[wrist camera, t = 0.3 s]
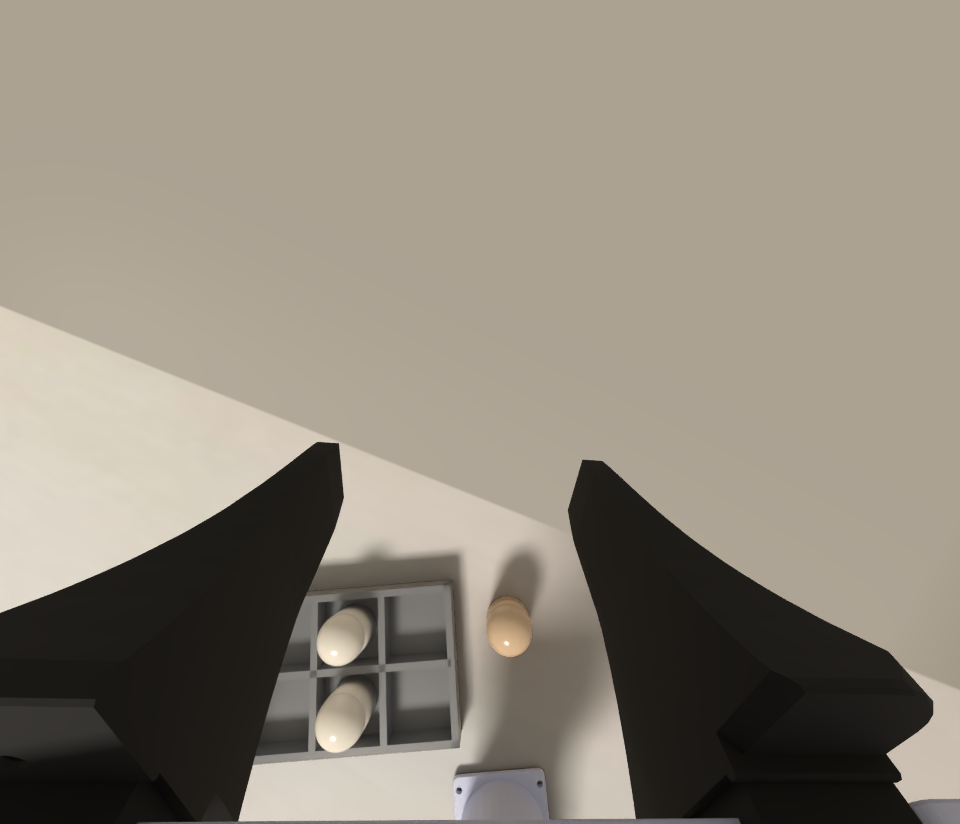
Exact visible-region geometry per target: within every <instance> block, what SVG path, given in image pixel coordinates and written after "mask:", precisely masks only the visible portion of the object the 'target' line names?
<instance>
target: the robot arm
mask: <svg viewBox="0 0 960 824" xmlns="http://www.w3.org/2000/svg"><path fill="white" fill-rule="evenodd" d="M343 499H344V494H343V483H342V472H341V462H340V451H339V443H325V442H317V443H315V444H314V445H312V446H311V447H310V448H308V449H307V450H306V451H304V452H303V453H302V454H301V455H299V456H298V457H297V458H296V459H294V460H293V461H292V462H290V463H289V464H288V465H286V466H285V467H284V468H282V469H281V470H280V471H278V472H277V473H276V474H274V475H273V476H272V477H270V478H269V479H268V480H266V481H265V482H264V483H262V484H261V485H259V486H258V487H256V488H255V489H254V490H252V491H251V492H249V493H248V494H246V495H245V496H243V497H242V498H240V499H239V500H237V501H236V502H234V503H233V504H231V505H230V506H228V507H227V508H225V509H224V510H222V511H221V512H219V513H217V514H216V515H214V516H212V517H211V518H209V519H207V520H205V521H204V522H202V523H200V524H198V525H197V526H195V527H193V528H192V529H190V530H188V531H186V532H184V533H183V534H181V535H179V536H177V537H175V538H173V539H171V540H169V541H167V542H165V543H163V544H161V545H159V546H157V547H155V548H153V549H151V550H149V551H147V552H145V553H143V554H141V555H139V556H137V557H135V558H133V559H131V560H129V561H127V562H125V563H122V564H120V565H118V566H116V567H113V568H111V569H109V570H107V571H105V572H102V573H100V574H98V575H95V576H93V577H91V578H88V579H86V580H84V581H81V582H79V583H76V584H74V585H72V586H69V587H67V588H64V589H62V590H59V591H57V592H55V593H52V594H50V595H47V596H44V597H42V598H39V599H36V600H34V601H31V602H28V603H26V604H23V605H20V606H18V607H15V608H12V609H10V610H7V611H4V612H2V613H0V824H960V799H928V800H920V801H916V802H911V803H909V804H908V803H907V801H906V800H905V798H904V797H903V796H902V794H901V793H900V792H899V790H898V789H897V787H896V786H895V785H894V783H897V782H899V781H901V780H902V778H901V773H900V772H899V771H898V769H897V768H896V767H895V765H894V764H893V763H892V761H891V760H890V759H889V757H888V756H887V755H886V753H888V752H889V751H891V750H892V749H894V748H895V747H897V746H898V745H899V744H901V743H902V742H904V741H905V740H907V739H908V738H910V737H911V736H912V735H914V734H915V733H917V732H918V731H919V730H920V729H922V728H923V727H924V726H925V725H926V724H927V723H928V722H929V720H930V719H931V717H932V716H933V701H932V699H931V698H930V697H929V696H928V695H927V694H926V693H925V692H924V690H923V689H922V688H921V687H920V686H919V685H918V684H917V683H916V682H915V680H914V679H913V678H912V677H911V676H910V675H909V674H908V673H907V672H906V670H905V669H904V668H903V667H902V666H901V665H900V664H899V663H898V662H897V660H896V659H895V658H894V657H893V656H892V655H891V654H890V653H889V652H888V651H886V650H884V649H882V648H880V647H878V646H876V645H874V644H872V643H869V642H867V641H865V640H863V639H861V638H859V637H857V636H855V635H853V634H851V633H849V632H847V631H845V630H843V629H841V628H838V627H836V626H834V625H832V624H830V623H828V622H826V621H824V620H822V619H820V618H818V617H817V616H815V615H813V614H811V613H809V612H807V611H806V610H804V609H802V608H800V607H798V606H796V605H794V604H793V603H791V602H789V601H787V600H785V599H783V598H782V597H780V596H778V595H777V594H775V593H773V592H771V591H770V590H768V589H766V588H765V587H763V586H761V585H760V584H758V583H756V582H755V581H753V580H751V579H750V578H748V577H747V576H745V575H743V574H742V573H740V572H738V571H737V570H736V569H734V568H733V567H731V566H730V565H728V564H726V563H725V562H723V561H722V560H720V559H719V558H718V557H716V556H715V555H713V554H712V553H711V552H709V551H708V550H707V549H705V548H704V547H702V546H701V545H699V544H698V543H697V542H695V541H694V540H693V539H691V538H690V537H689V536H688V535H686V534H685V533H684V532H682V531H681V530H680V529H679V528H678V527H676V526H675V525H674V524H673V523H671V522H670V521H669V520H668V519H666V518H665V517H664V516H663V515H662V514H661V513H659V512H658V511H657V510H656V509H655V508H654V507H652V506H651V505H650V504H649V503H648V502H647V501H646V500H645V499H644V498H642V497H641V496H640V495H639V494H638V493H637V492H636V491H635V490H634V489H632V488H631V487H630V486H629V485H628V484H627V483H626V482H625V481H624V480H623V479H622V478H621V477H619V475H618V474H616V473H615V472H614V471H613V470H612V469H611V468H610V467H609V466H608V465H606V464H605V463H604V462H603V461H594V460H582V463H581V467H580V470H579V474H578V477H577V481H576V484H575V488H574V491H573V495H572V498H571V501H570V505H569V508H568V513H569V519H570V525H571V530H572V535H573V540H574V544H575V547H576V550H577V553H578V556H579V560H580V563H581V566H582V569H583V572H584V575H585V578H586V581H587V584H588V587H589V590H590V593H591V596H592V599H593V602H594V605H595V608H596V611H597V614H598V618H599V621H600V625H601V629H602V633H603V637H604V642H605V646H606V651H607V655H608V660H609V664H610V669H611V674H612V679H613V684H614V689H615V694H616V699H617V704H618V710H619V715H620V721H621V726H622V732H623V738H624V743H625V749H626V755H627V762H628V768H629V775H630V781H631V788H632V794H633V801H634V808H635V816H636V819H549V813H548V803H547V793H546V783H545V775H544V771H543V770H542V769H541V768H530V769H518V770H505V771H493V772H481V773H469V774H458V775H456V776H455V777H454V780H453V794H454V813H455V820H398V821H250V822H238V819H239V815H240V811H241V807H242V803H243V800H244V796H245V792H246V788H247V785H248V781H249V777H250V773H251V770H252V766H253V762H254V758H255V755H256V751H257V747H258V744H259V740H260V737H261V733H262V730H263V726H264V723H265V719H266V716H267V712H268V709H269V705H270V702H271V698H272V695H273V692H274V688H275V685H276V682H277V679H278V675H279V672H280V669H281V666H282V662H283V659H284V656H285V653H286V650H287V647H288V644H289V641H290V637H291V634H292V631H293V628H294V625H295V622H296V619H297V616H298V614H299V611H300V609H301V606H302V604H303V601H304V599H305V596H306V594H307V592H308V590H309V587H310V585H311V583H312V580H313V578H314V576H315V574H316V571H317V569H318V567H319V564H320V562H321V560H322V558H323V555H324V553H325V551H326V548H327V546H328V544H329V541H330V539H331V537H332V534H333V532H334V530H335V527H336V523H337V520H338V517H339V513H340V510H341V506H342V502H343ZM538 781H542V784H540V785H538V784H537V782H538ZM458 787H460V788H461V789H462V790H461V791H458V790H457V788H458Z"/></svg>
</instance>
